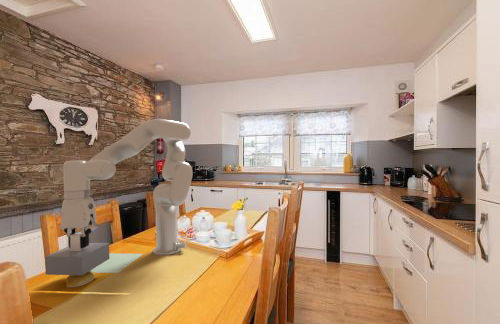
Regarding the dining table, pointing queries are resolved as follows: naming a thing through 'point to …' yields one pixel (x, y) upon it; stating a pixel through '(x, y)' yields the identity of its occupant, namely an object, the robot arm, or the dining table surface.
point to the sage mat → (116, 263)
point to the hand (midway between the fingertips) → (79, 246)
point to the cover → (76, 258)
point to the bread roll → (79, 279)
